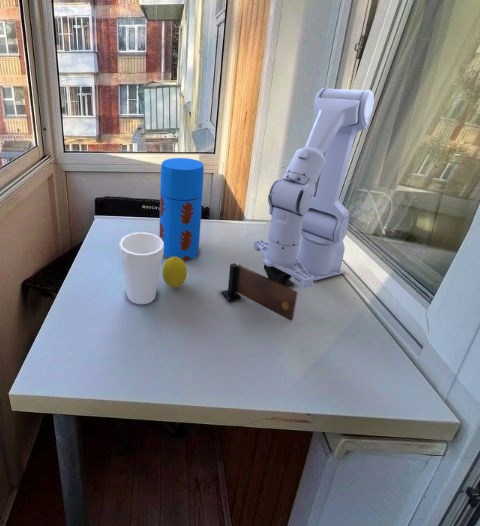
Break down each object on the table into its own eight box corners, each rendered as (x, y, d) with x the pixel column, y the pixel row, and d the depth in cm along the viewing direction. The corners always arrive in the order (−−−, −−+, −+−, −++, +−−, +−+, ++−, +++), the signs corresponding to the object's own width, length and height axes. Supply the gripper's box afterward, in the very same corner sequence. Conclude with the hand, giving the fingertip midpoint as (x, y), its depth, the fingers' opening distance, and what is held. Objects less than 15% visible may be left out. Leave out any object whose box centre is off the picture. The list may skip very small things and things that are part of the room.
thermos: (166, 263, 85) (169, 171, 78) (154, 242, 95) (155, 159, 88) (205, 258, 88) (211, 168, 80) (189, 238, 98) (194, 156, 90)
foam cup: (168, 288, 76) (170, 237, 72) (153, 314, 68) (154, 259, 64) (131, 277, 80) (130, 229, 76) (112, 301, 72) (111, 248, 68)
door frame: (284, 277, 80) (288, 248, 77) (293, 285, 77) (298, 255, 75) (221, 293, 74) (224, 262, 72) (229, 302, 72) (232, 270, 69)
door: (293, 319, 65) (298, 291, 64) (289, 324, 64) (294, 296, 62) (236, 289, 74) (238, 263, 72) (231, 293, 73) (234, 267, 71)
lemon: (185, 296, 73) (186, 265, 71) (160, 293, 74) (161, 262, 72) (186, 281, 79) (188, 251, 76) (163, 278, 80) (164, 249, 77)
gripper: (244, 225, 71) (239, 279, 75) (295, 262, 58) (285, 324, 62) (271, 220, 73) (264, 273, 78) (326, 254, 60) (315, 315, 64)
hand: (276, 295), depth 70 cm, fingers closed
